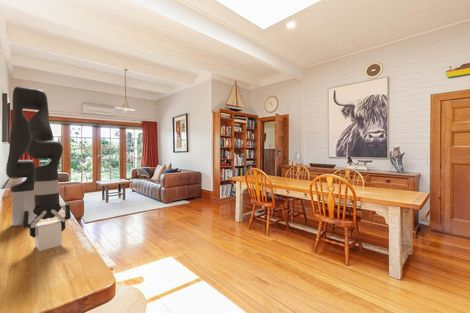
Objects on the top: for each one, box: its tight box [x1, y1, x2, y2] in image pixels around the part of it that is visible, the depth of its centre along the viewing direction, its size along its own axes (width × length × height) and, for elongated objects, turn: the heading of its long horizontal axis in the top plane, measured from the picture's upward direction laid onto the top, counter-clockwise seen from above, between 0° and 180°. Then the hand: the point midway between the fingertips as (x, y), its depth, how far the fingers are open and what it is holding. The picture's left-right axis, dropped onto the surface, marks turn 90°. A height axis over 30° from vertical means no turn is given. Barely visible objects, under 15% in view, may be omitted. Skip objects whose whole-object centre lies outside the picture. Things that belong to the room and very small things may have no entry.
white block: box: [34, 219, 63, 252], centre depth 89 cm, size 7×7×9 cm
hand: (48, 233), depth 89 cm, fingers open, 8 cm apart
